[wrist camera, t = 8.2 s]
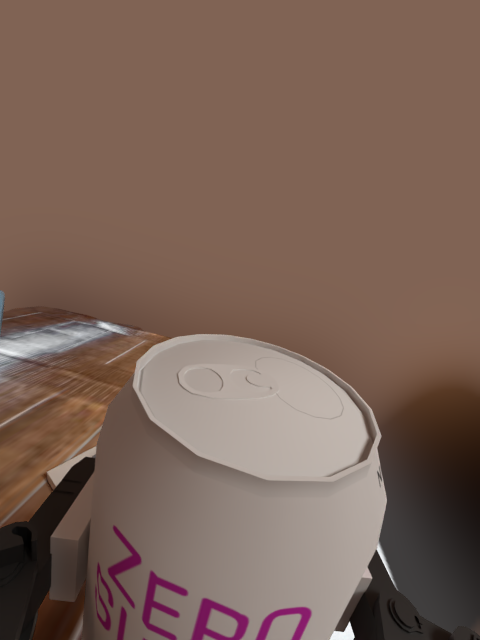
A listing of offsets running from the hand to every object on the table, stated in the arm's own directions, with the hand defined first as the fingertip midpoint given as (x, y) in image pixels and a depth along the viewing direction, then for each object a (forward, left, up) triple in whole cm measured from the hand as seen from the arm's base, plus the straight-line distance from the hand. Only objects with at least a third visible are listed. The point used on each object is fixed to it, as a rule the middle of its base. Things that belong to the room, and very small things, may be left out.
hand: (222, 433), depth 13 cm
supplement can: (+3, -4, -9) cm, 10 cm away
